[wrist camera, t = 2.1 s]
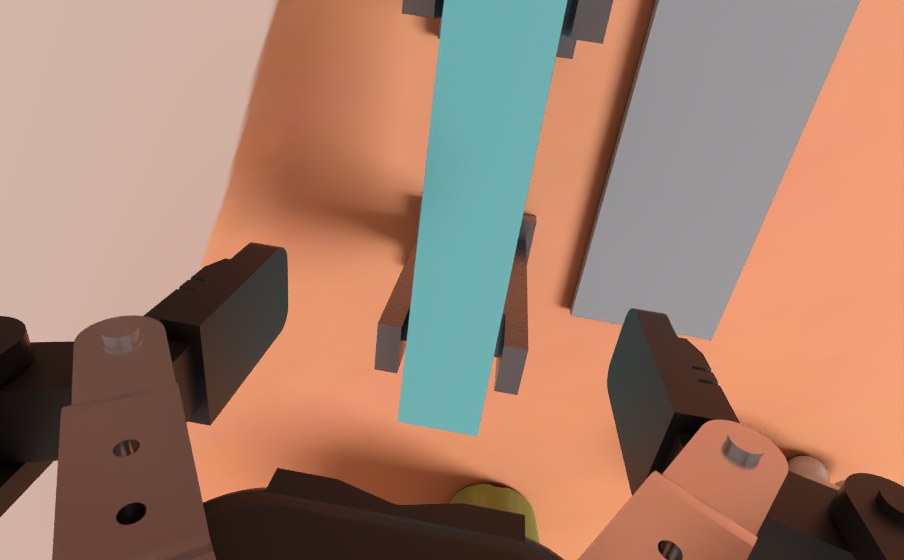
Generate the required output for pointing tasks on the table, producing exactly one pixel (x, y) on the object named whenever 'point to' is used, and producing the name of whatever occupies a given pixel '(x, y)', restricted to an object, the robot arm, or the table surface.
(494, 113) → the rail bar
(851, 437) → the table surface
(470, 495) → the plant pot
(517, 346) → the bracket stand
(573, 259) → the table surface
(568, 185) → the table surface
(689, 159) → the rubber mat
